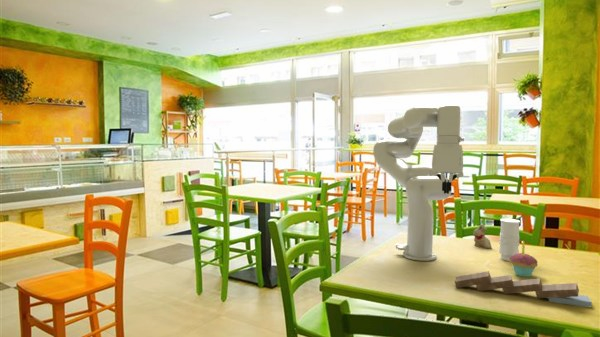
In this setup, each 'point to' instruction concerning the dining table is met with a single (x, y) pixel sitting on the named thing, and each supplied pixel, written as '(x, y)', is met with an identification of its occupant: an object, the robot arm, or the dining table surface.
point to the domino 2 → (497, 283)
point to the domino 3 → (524, 286)
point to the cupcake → (523, 263)
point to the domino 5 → (573, 300)
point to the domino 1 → (473, 279)
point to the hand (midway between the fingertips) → (446, 193)
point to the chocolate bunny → (481, 238)
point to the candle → (509, 238)
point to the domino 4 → (558, 290)
